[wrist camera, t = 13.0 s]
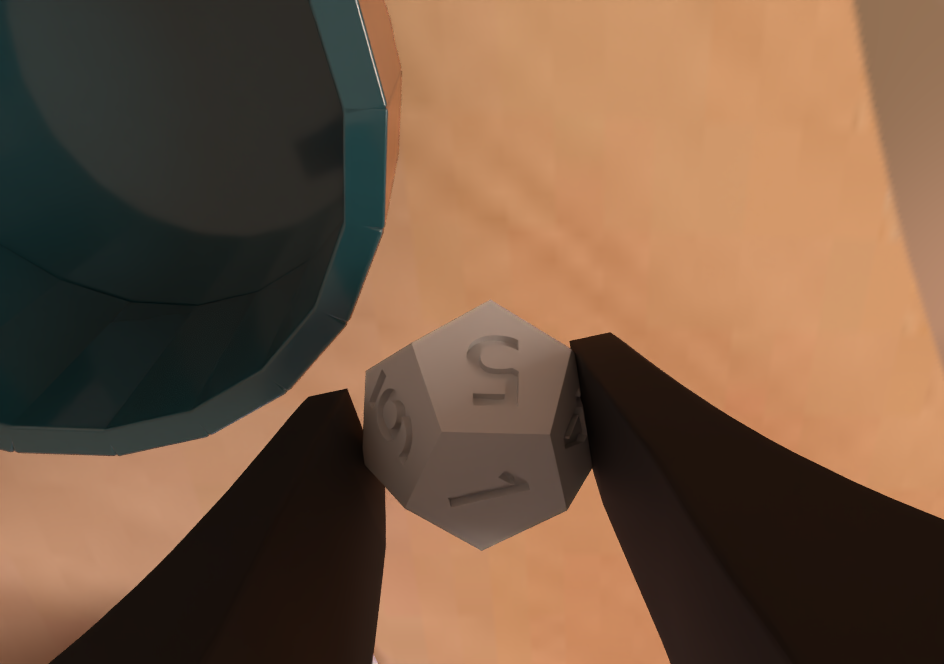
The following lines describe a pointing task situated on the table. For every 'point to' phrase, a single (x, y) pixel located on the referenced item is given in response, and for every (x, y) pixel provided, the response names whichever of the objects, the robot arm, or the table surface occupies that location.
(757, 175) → the table surface
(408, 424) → the game die
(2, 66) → the pot
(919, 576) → the robot arm
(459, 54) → the table surface
